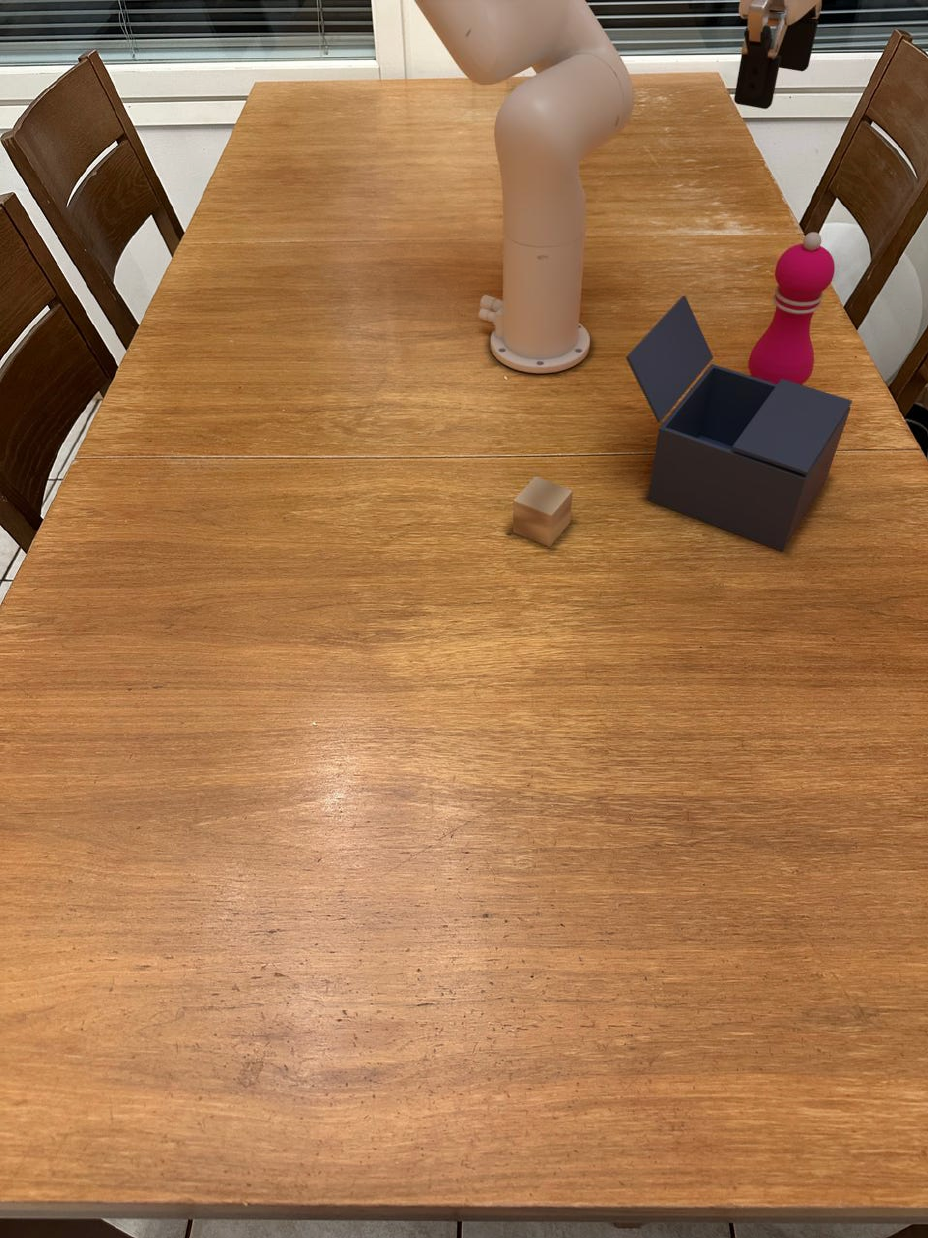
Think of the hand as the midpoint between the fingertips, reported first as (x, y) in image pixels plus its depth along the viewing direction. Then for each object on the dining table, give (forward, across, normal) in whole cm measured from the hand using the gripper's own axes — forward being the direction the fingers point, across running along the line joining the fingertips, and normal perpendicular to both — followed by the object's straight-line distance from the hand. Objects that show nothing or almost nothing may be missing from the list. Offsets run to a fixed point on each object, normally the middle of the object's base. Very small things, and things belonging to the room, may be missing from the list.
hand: (771, 85), depth 84 cm
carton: (+35, +11, +8) cm, 38 cm away
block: (+35, +27, -8) cm, 45 cm away
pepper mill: (+36, -7, +5) cm, 37 cm away
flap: (+22, +11, -1) cm, 25 cm away
